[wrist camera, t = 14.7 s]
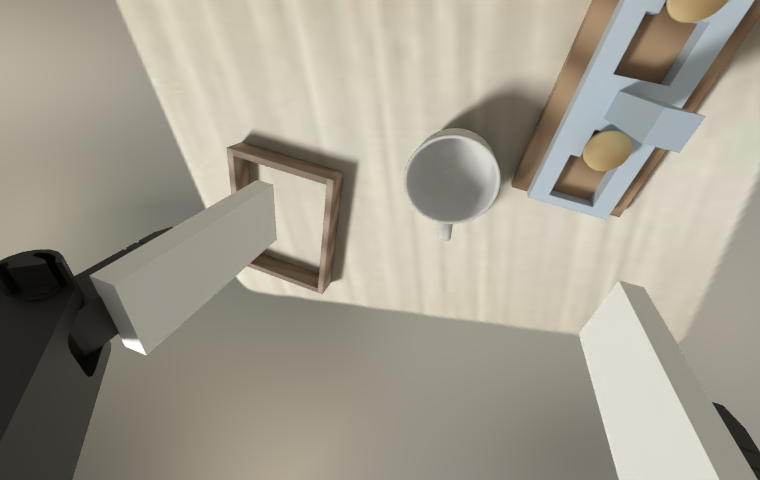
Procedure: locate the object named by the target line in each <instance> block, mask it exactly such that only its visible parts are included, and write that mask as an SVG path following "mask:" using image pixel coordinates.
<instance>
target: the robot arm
mask: <svg viewBox="0 0 760 480" xmlns="http://www.w3.org/2000/svg"><path fill="white" fill-rule="evenodd" d="M276 240H277V237H276V222H275V206H274V190H273V184H269V183H266V182H262V181H258V180H256V181H254V182H252V183H251V184H249V185H247V186H245V187H244V188H242V189H240V190H238V191H237V192H235V193H233V194H231V195H230V196H228V197H226V198H224V199H223V200H221V201H219V202H217V203H216V204H214V205H212V206H210V207H209V208H207V209H205V210H204V211H202V212H200V213H198V214H197V215H195V216H193V217H192V218H189V219H188V220H186V221H184V222H182V223H181V224H179V225H177V226H175V227H170V228H167V229H163V230H160V231H157V232H154V233H152V234H150V235H148V236H147V237H145V238H143V239H141V240H139V242H138V243H134V244H132V245H130V246H129V247H127V249H126V250H121V251H120V252H118V253H116V254H114V255H112V256H111V257H109V258H107V259H105V260H103V261H101V262H100V263H98V264H96V265H94V266H93V267H91V268H89V269H87V270H85V271H84V272H82V273H80V274H78V275H76V276H74V275H73V274H72V272H71V270H70V268H69V266H68V264H67V263H66V261H65V259H64V257H63V256H62V255H61V254H60V253H59V252H57V251H54V250H32V251H26V252H22V253H18V254H15V255H12V256H9V257H7V258H5V259H3V260H1V261H0V480H72V479H73V475H74V472H75V469H76V465H77V462H78V458H79V455H80V452H81V449H82V445H83V442H84V439H85V435H86V432H87V429H88V425H89V422H90V418H91V415H92V412H93V408H94V405H95V402H96V399H97V395H98V392H99V388H100V385H101V382H102V378H103V375H104V372H105V369H106V365H107V362H108V358H109V355H110V352H111V343H110V341H109V340H110V339H112V338H113V337H114V336H115V335H117V334H118V333H119V335H120V337H121V339H122V341H123V343H124V345H125V346H126V347H128V348H130V349H133V350H135V351H137V352H140V353H142V354H144V355H147V354H149V353H150V352H151V351H152V350H153V349H154V348H155V347H156V346H157V345H159V344H160V343H161V342H162V341H163V340H164V339H165V338H167V337H168V336H169V335H170V334H171V333H172V332H173V331H174V330H175V329H177V328H178V327H179V326H180V325H181V324H182V323H183V322H185V321H186V320H187V319H188V318H189V317H190V316H191V315H192V314H194V312H196V311H197V310H198V309H199V308H200V307H201V306H202V305H204V304H205V303H206V302H207V301H208V300H209V299H210V298H211V297H213V296H214V295H215V294H216V293H217V292H218V291H219V290H220V289H221V288H223V287H224V286H225V285H226V284H227V283H228V282H229V281H231V280H232V279H233V278H234V277H235V276H236V275H237V274H238V273H240V272H241V271H242V270H243V269H244V268H245V267H246V266H247V265H249V264H250V263H251V262H252V261H253V260H254V259H255V258H256V257H258V256H259V255H260V254H261V253H262V252H263V251H264V250H265V249H267V248H268V247H269V246H270V245H271V244H272V243H273V242H274V241H276ZM579 336H580V340H581V344H582V347H583V351H584V354H585V358H586V362H587V365H588V369H589V372H590V376H591V379H592V383H593V387H594V391H595V394H596V398H597V401H598V405H599V409H600V412H601V416H602V420H603V423H604V427H605V431H606V434H607V438H608V442H609V445H610V448H611V452H612V456H613V460H614V463H615V467H616V470H617V474H618V478H619V480H760V451H759V450H758V448H757V446H756V445H755V443H754V442H753V440H752V439H751V437H750V435H749V434H748V432H747V431H746V429H745V428H744V427H743V426H742V425H741V424H740V423H739V422H738V421H737V420H736V419H735V418H734V417H733V416H732V415H731V414H730V412H729V411H728V410H727V409H726V408H725V407H724V406H723V405H720V404H717V403H713V402H711V400H710V398H709V397H708V395H707V393H706V392H705V390H704V388H703V386H702V385H701V383H700V381H699V380H698V378H697V376H696V375H695V373H694V371H693V370H692V368H691V366H690V365H689V363H688V361H687V360H686V358H685V356H684V354H683V353H682V351H681V350H680V348H679V346H678V344H677V343H676V341H675V339H674V337H673V336H672V334H671V332H670V331H669V329H668V327H667V326H666V324H665V322H664V321H663V319H662V317H661V316H660V314H659V312H658V310H657V309H656V307H655V305H654V304H653V302H652V300H651V299H650V297H649V295H648V294H647V292H646V290H645V289H644V287H640V286H637V285H633V284H629V283H626V282H622V281H618V282H617V284H616V285H615V286H614V288H613V289H612V290H611V292H610V293H609V294H608V296H607V297H606V298H605V300H604V301H603V302H602V304H601V305H600V306H599V308H598V309H597V310H596V312H595V313H594V314H593V316H592V317H591V318H590V320H589V321H588V322H587V324H586V325H585V326H584V328H583V329H582V330H581V332H580V333H579Z"/></svg>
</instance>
